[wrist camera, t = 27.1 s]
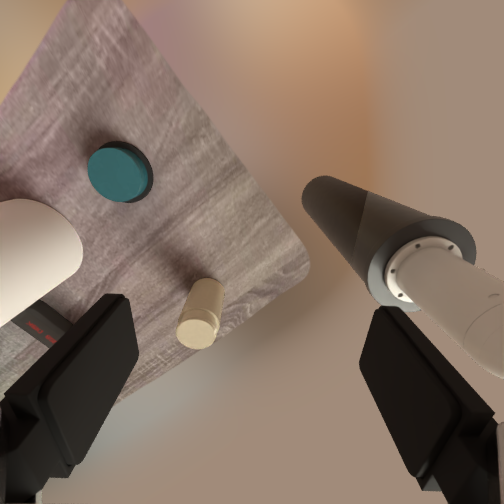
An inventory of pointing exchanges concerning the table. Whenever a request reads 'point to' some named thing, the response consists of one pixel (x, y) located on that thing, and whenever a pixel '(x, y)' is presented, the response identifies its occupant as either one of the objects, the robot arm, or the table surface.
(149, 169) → the coaster
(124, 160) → the jar lid
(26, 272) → the canister
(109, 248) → the table surface
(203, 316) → the jar
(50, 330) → the usb drive
